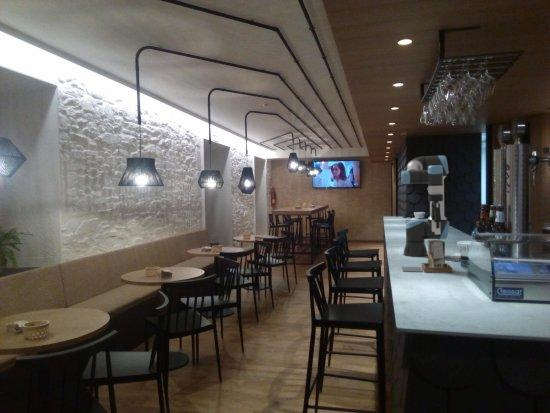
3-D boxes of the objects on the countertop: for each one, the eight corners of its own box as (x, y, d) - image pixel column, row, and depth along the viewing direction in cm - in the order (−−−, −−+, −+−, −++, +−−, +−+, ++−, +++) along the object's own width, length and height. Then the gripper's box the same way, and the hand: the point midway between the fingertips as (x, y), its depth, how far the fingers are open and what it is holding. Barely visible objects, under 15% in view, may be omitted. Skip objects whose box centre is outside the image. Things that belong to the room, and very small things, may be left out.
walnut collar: (421, 267, 242) (421, 263, 242) (448, 267, 239) (448, 263, 239) (424, 272, 229) (424, 267, 229) (452, 273, 225) (452, 268, 225)
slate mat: (401, 267, 244) (401, 266, 244) (420, 267, 242) (420, 266, 241) (402, 271, 232) (402, 270, 232) (422, 272, 230) (422, 271, 230)
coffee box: (445, 271, 229) (445, 241, 228) (433, 272, 229) (433, 242, 228) (439, 268, 238) (439, 239, 237) (427, 268, 238) (427, 239, 238)
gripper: (425, 193, 245) (426, 230, 245) (430, 194, 220) (431, 235, 221) (439, 193, 243) (440, 230, 244) (446, 194, 219) (446, 235, 219)
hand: (436, 233), depth 232 cm, fingers open, 13 cm apart
